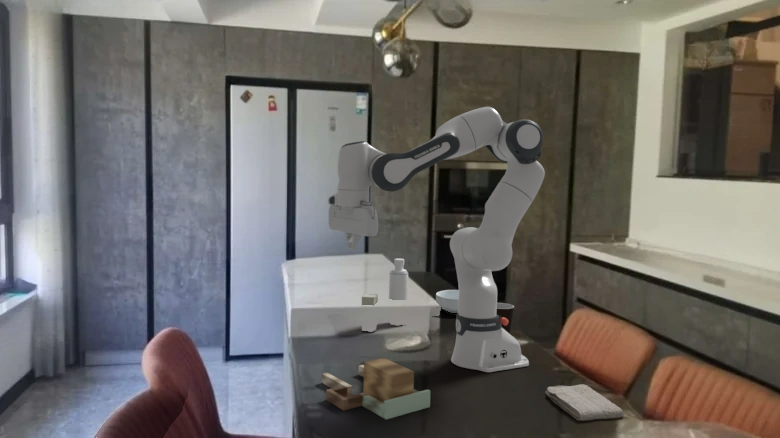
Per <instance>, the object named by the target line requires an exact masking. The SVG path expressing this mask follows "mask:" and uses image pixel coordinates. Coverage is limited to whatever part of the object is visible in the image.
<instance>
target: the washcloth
mask: <svg viewBox="0 0 780 438" xmlns="http://www.w3.org/2000/svg"><path fill="white" fill-rule="evenodd" d="M545 395H546V396H547V397H548V398H549V399H550V400H551V401H552V402H553V403H554V404H556V405H557V406H559V408H561V409H563V411H565V412H567V413H568V414H569V415H570V416H572V417H573V418H574V419H576V420H577V421H583V422H585V421H593V420H603V419H604V420H607V419H609V420H610V419H616V418H617V419H618V418H619V419H620V418H622V417H624V411H623V410H622V408H621V407H619V406H618V405H616V404H615V403H614V402H612V401H610V399H608V398H606V396H604V395H602V394H600V393H598V391H596V390H594V389H593V388H591V387H590V386H589V385H587V384H584V383H583V384H576V385H571V386H569V385H554V386H548V387H547V388H546V390H545Z"/></svg>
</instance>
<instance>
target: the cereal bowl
mask: <svg viewBox="0 0 780 438" xmlns="http://www.w3.org/2000/svg"><path fill="white" fill-rule="evenodd" d="M435 301H436V304H437V303H438V304H440V305H441V307H442V308H441V309H442V310H444V311H446V312H447V311H448V312H451V313H458V301H459V289H445V290H440V291H437V292H436V293H435ZM438 304H437V305H438ZM448 312H447V313H448ZM451 313H450V314H451Z"/></svg>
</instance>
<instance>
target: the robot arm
mask: <svg viewBox="0 0 780 438" xmlns="http://www.w3.org/2000/svg"><path fill="white" fill-rule="evenodd" d="M543 141H544V133H543V130H542V128H541V127H540V125H539V124H538V123H537V122H535V121H533V120H530V119H524V118H523V119H518V120H516V121H512V122H509V123H507V122H505V121H504V120H503V119H502V116H501V115H500V113H499V112H498V110H496V109H495V108H494V107H491V106H483V107H479V108H475V109H471V110H469V111H467V112H464V113H463V112H462V113H461V114H459V115H456V116H455V117H453V118H451V119H448V121H446V122H445V123H442V124H441V125H440V126H439V127H438V128H437V129H436V131H435V136H433V137H432V138H431V139H429V141H427V142H425V143H422V144H421V145H418V146H416V147H414V148H412V149H410V150H408V151H406V152H397V153H395V152H390V153H386V152H383V151H381V150H379V149H377V148H375V147H374V146H372V145H371V144H369V143H368V142H367V141H366V140H363V141H362V140H360V141H354V142H349V143H345V144H344V145H342V146H341V148H340V149H339V153H338V161H337V162H338V163H337V175H338V184H337V185H338V186H337V192H335V193H334V194H333V195H330V196H328V198H327V203H328V205H329V206H328V226H329V229H330V230H331V231H336V232H341V233H344V238H345V241H346V248H347V249H348V250H353V251H357V250H358V249H359V242H360V241H361V237H362V236H364V237H376V236H377V235H378V234H379V220H378V219H379V218H378V213H377V210H376V206H375V205H374V203H373V202H372V201H370V187H371V186H375V187H377V188H380V190H383V191H386V192H390V193H391V192H392V193H393V192H398V191H400V190H402V189H403V188H404V187H406V185H407V184H408V183H409V182H410V181H411V179H413V177H414V176H416V175H418V173H420V172H421V171H425V170H426V169H427V168H430V167H432V166H434V165H435V164H437V163H438V164H439V163H440V162H443V161H446V160H451V159H455V158H460V157H462V156H465V155H468V154H470V153H472V152H474V151H477V150H478V149H481V148H483V147H486V148H487V149H488V150H489V153H491V155H492V156H493V157H494V158H495V160H497V161H499V162H502V163H507V167H506V170H505V172H504V175H503V176H502V177H501V179H500V181H499V182H498V183H497V185H496V187H495V188H494V190H493V191H492V192H491V195H490V196H489V197H488V200H486V202H485V204H484V215H483V219H482V221H481V223H480V226H479V227H474V226H473V227H472V226H470V227H469V226H468V227H462V228H461V229H458V230H456V231H455V232H454V233H453V234H452V235H451V237H450V240H449V249H450V252H451V254H452V256H453V258H454V259H453V260H454V265H455V270H456V278H457V283H458V290H459V301H458V313H457V314H456V320H455V331H456V332H455V333H456V338H455V342H454V343H455V344H454V347H453V352H452V355H451V358H450V361H451V363H452V364H454V365H456V366H457V367H460V368H463V369H464V368H465V369H470V370H477V371H481V372H484V373H493V372H498V371H499V372H500V371H505V370H506V371H507V370H513V369H517V368H525V367H529V365H530V362H529V359H528V358H527V357H526V356H525V355H523V354H522V349H521V345H520V343H519V341H518V340H517V339H516V338H515V336H513V335H511V333H510V334H509V333H508V332H507V331H506V330H504V329H503V328H502V326H501V324H503V325H508V322H509V320H508V319H506V318H504V317H500V316H498V315H497V314H496V313H497V303H498V286H497V284H496V282H495V280H494V278H493V274H492V272H497V271H498V272H499V271H502V270H503V269H505V268H506V267H508V265H509V264H510V263H511V261H512V258H513V247H512V244H513V242H514V237H515V235H516V231H517V229H518V226H519V225H520V222H521V220H522V219H523V217H524V215H526V213H527V211H528V209H529V208H530V206H531V204H532V203H533V202H534V200H535V199H536V196H537V195H538V192H539V190H540V189H541V186H542V184H543V181H544V179H545V176H546V175H545V174H546V171H545V169H544V167H543V165H542V164H541V163H540V162H539V161H538V160H539V159H540V158H541V155H542V146H543V143H544V142H543Z"/></svg>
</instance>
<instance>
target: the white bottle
mask: <svg viewBox="0 0 780 438" xmlns="http://www.w3.org/2000/svg"><path fill="white" fill-rule="evenodd" d="M393 265H394V268H393V269H391V271H389V282H388V283H389V286H388V289H389V290H388V291H389V292H388V300H389V299H392V300H407V299H408V300H409V271H407V269H405V268H404V265H405V259H404V258H398V257H397V258H394V260H393Z"/></svg>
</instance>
